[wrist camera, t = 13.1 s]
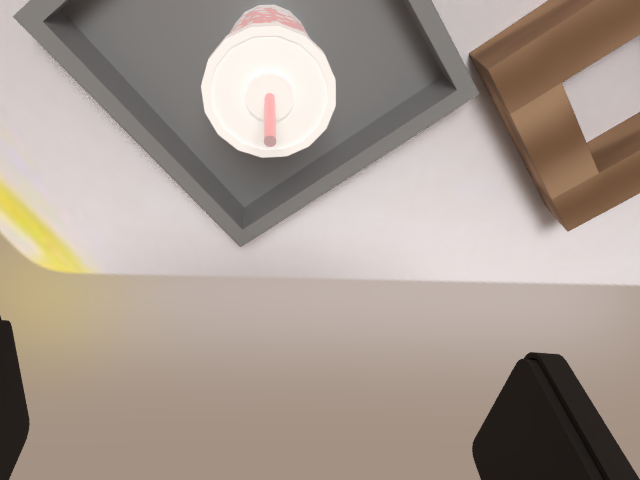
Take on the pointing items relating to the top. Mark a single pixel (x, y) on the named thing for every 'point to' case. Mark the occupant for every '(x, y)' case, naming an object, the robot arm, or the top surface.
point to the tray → (187, 102)
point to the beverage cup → (268, 85)
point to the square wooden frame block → (564, 103)
